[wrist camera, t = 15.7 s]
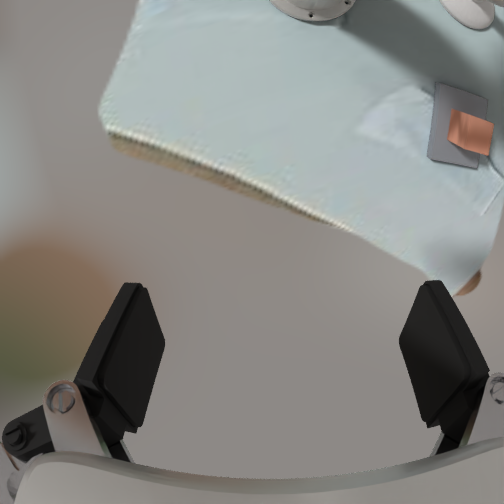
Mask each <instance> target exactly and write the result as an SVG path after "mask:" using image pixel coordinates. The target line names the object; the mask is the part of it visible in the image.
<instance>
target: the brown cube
mask: <svg viewBox="0 0 504 504" xmlns="http://www.w3.org/2000/svg"><path fill="white" fill-rule="evenodd" d="M493 127H494V124H493V123H491V122H488V121H486V120H483V119H480V118H478V117H475V116H472V115H469V114H467V113H464V112H461V111H458V110H454V109H451V117H450V124H449V130H448V136H447V140H449V141H451V142H453V143H454V144H456V145H458V146H460V147H462V148H464V149H466V150H470V151H474V152H477V153H480V154H484V155H487V156H488V154H489V149H490V144H491V139H492V133H493Z"/></svg>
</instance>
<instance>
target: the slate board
mask: <svg viewBox="0 0 504 504" xmlns="http://www.w3.org/2000/svg"><path fill="white" fill-rule="evenodd" d="M487 104H488V100H487V99H485V98H482V97H480V96H477V95H474V94H472V93H469V92H466V91H463V90H460V89H457V88H454V87H451V86H448V85H445V84H442V83H437V82H435V96H434V106H433V116H432V124H431V131H430V138H429V145H428V151H427V157H428V158H430V159H432V160H438V161H443V162H449V163H454V164H459V165H464V166H468V167H473V168H477V166H478V162H479V157H480V153H477V152H474V151H470V150H466V149H464V148H462V147H460V146H458V145H456V144H454V143H453V142H451V141H449V140H447V136H448V130H449V124H450V117H451V109H454V110H458V111H461V112H464V113H467V114H469V115H472V116H475V117H478V118H480V119H483V120H486V113H487Z"/></svg>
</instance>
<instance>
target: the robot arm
mask: <svg viewBox="0 0 504 504" xmlns="http://www.w3.org/2000/svg"><path fill="white" fill-rule="evenodd" d="M269 1H270V2H271V3H272V4H273V5H274V6H275V7H276V8H277V9H279V10H280V11H282V12H283V13H285V14H287V15H289V16H291V17H294V18H297V19H301V20H304V21H313V22H316V21H327V20H332V19H334V18H337V17H339V16H341V15H343V14H344V13H346V12H347V11H348V10H349V9H350V8H351V7H352V6H353V5H354V3H355V1H356V0H269ZM487 1H489V2H491V3H493V4H495V5H498V6H500V7H504V0H487ZM345 2H347V3H348V5H347V4H346V3H345ZM309 15H312V16H313V17H309ZM399 345H400V349H401V351H402V354H403V357H404V360H405V364H406V367H407V370H408V373H409V376H410V379H411V383H412V386H413V389H414V393H415V396H416V400H417V403H418V407H419V411H420V414H421V418H422V420H423V421H424V422H426V424H427V428H431V427H434V426H438V425H440V426H441V430H442V431H441V433H440V436H439V438H438V440H437V442H436V444H435V447H434V448H433V451H432V453H431V455H430V457H427V458H424V459H420V460H417V461H413V462H409V463H405V464H400V465H396V466H392V467H387V468H381V469H376V470H370V471H364V472H358V473H351V474H344V475H335V476H325V477H313V478H295V479H248V478H247V479H246V478H229V477H216V476H206V475H198V474H190V473H183V472H176V471H171V470H165V469H159V468H154V467H149V466H144V465H139V464H135V462H134V460H133V458H132V457H131V455H130V453H129V451H128V449H127V447H126V445H125V443H124V441H123V436H124V432H125V431H127V432H132V433H136V432H137V428H138V427H141V426H142V424H143V421H144V418H145V414H146V410H147V407H148V403H149V399H150V396H151V392H152V389H153V385H154V382H155V378H156V375H157V372H158V368H159V365H160V361H161V358H162V354H163V352H164V347H165V339H164V336H163V333H162V331H161V328H160V325H159V322H158V320H157V317H156V314H155V311H154V308H153V305H152V302H151V299H150V296H149V293H148V290H147V288H144V287H143V286H142V284H140V283H124V284H123V286H122V287H121V289H120V291H119V293H118V295H117V296H116V298H115V300H114V302H113V304H112V306H111V307H110V309H109V311H108V313H107V315H106V317H105V319H104V320H103V322H102V323H101V325H100V327H99V329H98V331H97V333H96V335H95V337H94V339H93V341H92V343H91V345H90V347H89V349H88V351H87V353H86V356H85V357H84V359H83V362H82V364H81V366H80V368H79V370H78V372H77V375H76V377H75V379H74V381H73V382H71V381H69V380H60V381H56V382H55V383H53V384H52V385H50V387H49V388H48V389H47V390H46V392H45V394H44V397H43V405H41V406H40V407H38V408H36V409H34V410H32V411H30V412H28V413H26V414H24V415H22V416H20V417H18V418H16V419H14V420H12V421H11V422H9V423H8V424H7V425H6V427H5V429H4V431H3V436H2V442H0V504H504V374H503V373H494V374H492V375H491V376H489V374H488V372H489V371H490V370H489V368H488V366H487V363H486V361H485V359H484V357H483V355H482V353H481V351H480V349H479V347H478V345H477V343H476V341H475V339H474V337H473V335H472V333H471V331H470V329H469V327H468V325H467V324H466V322H465V320H464V318H463V316H462V315H461V313H460V311H459V309H458V308H457V306H456V304H455V302H454V301H453V299H452V297H451V295H450V294H449V292H448V290H447V289H446V287H445V286H444V284H443V282H442V281H440V280H433V281H425V283H424V284H423V285H422V286H420V288H419V291H418V293H417V296H416V299H415V301H414V303H413V306H412V308H411V311H410V313H409V316H408V318H407V321H406V323H405V325H404V328H403V330H402V332H401V335H400V337H399Z"/></svg>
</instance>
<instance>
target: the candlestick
mask: <svg viewBox="0 0 504 504" xmlns="http://www.w3.org/2000/svg"><path fill="white" fill-rule="evenodd" d="M439 1H440V2H441V4H442V5H443V7H444V8H445V9H446V10H447V12H448V13H449V14H450V15H451V16H452V17H453V18H455V19H456V20H457V21H458V22H460V23H461V24H463V25H465V26H467V27H470V28H473V29H484V28H486V27H488V26H489V25H490V24H491V23H492V21H493V19H494V14H495V9H494V4H493V3H491V2H489V1H487V0H439Z"/></svg>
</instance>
